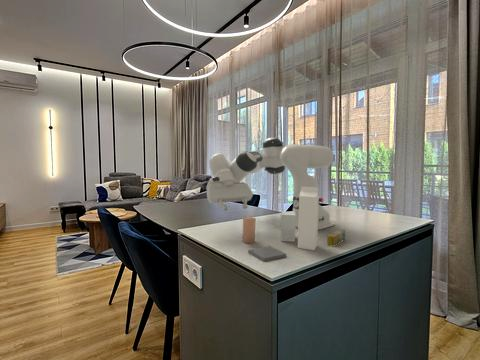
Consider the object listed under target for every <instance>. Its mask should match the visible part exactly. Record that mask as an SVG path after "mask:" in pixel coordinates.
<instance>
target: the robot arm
mask: <svg viewBox="0 0 480 360" xmlns="http://www.w3.org/2000/svg"><path fill="white" fill-rule="evenodd" d="M262 149H263V152H261V151H256V150H255V151H248V150H244V151H243V150H241V151H240V152H239V153H238V154H237V156H236V157H235V158H234V159H233V160H232V161H231V162H230V161H228V159H227V157H226V156H225V154H224V153H221V152H218V153H215V154H213V155H211V157H210V159H209V168H210V173H211V174H212V176H213V177H211V178H210V179H209V180H208V181H207V185H206V189H205V190H206V198H207V201H208V202H209V203H210V204H217V205H218V206H219V207H220V208H221V209H222V211H224V212H225V211H227V210H228V205H227V204H224V203H231V202H232V203H233V202H242V203H243V204H242V206H241V207H242V209H243V210H246V209H248V204H247V203H248V201H251V200H252V199H253V196H254V194H253V191H252V190H251V188H250V187H249V185H248V183H245V182H243V181H242V180H244V179H245V178H246V177H247V176H248V175H249V174H255V173H258V172H259V171H261V170H262V169H263V168H264V171H266V172H267V173H268V174H270V175H280V174H281V173H284V171H285V168H286V169H287V170H288V171H289V174H291V176H292V181H293V197H292V206H293V207H292V211H291V212H295V214H296V225H295V228H297V229H298V218H299V195H300V192H301V187H317V188H318V185H319V184H318V183H319V182H318V181H317V179H316V178H315V177H313V176H311V175H310V174H309V172H308V170H307V169H323V168H328V167H330V166H331V165H332V164H333V161H334V152H333V150H332V149H331V148H330V147H327V146H323V145H313V144H296V143H295V144H294V143H293V144H292V143H291V144H287V145H284V141H281V139H279V138H278V137H268V138H266V139H265V140H264V141H262ZM320 203H324V197H319V204H318V231H319V230H323V229H326V228H330V227H333V226H335V222H333V221H330V219H331V218H330V213H329V211H327V210H326V209H325V208H324V207H323V206H322V205H321V204H320Z"/></svg>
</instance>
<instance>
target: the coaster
mask: <svg viewBox="0 0 480 360" xmlns="http://www.w3.org/2000/svg"><path fill="white" fill-rule="evenodd" d="M247 252H248V254H250V255H252V256H254V258H257V259H258V260H260V261H262V262H267V261H273V260H276V259H277V260H278V259H283V258H286V257H287V253H286V252H284V251H281V250H280V249H278V248H275V247H274V246H271V245H268V246H267V245H266V246H261V247H257V248H256V247H255V248H251V249H248V251H247Z"/></svg>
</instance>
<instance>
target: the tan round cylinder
mask: <svg viewBox="0 0 480 360" xmlns="http://www.w3.org/2000/svg"><path fill="white" fill-rule="evenodd" d="M242 242H243V243H244V244H254V243H255V242H256V218H255V217H252V216H250V217H247V216H245V217H243V218H242Z"/></svg>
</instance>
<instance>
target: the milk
mask: <svg viewBox="0 0 480 360" xmlns="http://www.w3.org/2000/svg"><path fill="white" fill-rule="evenodd" d="M319 198H320V195H319V189H318V188H317V187H301V192H300V195H299V218H298V228H297V249H302V250H310V251H315V250H316V248H317V246H318V233H319V232H318V231H319V230H318V204H319V203H320V202H319ZM319 205H320V204H319Z"/></svg>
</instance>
